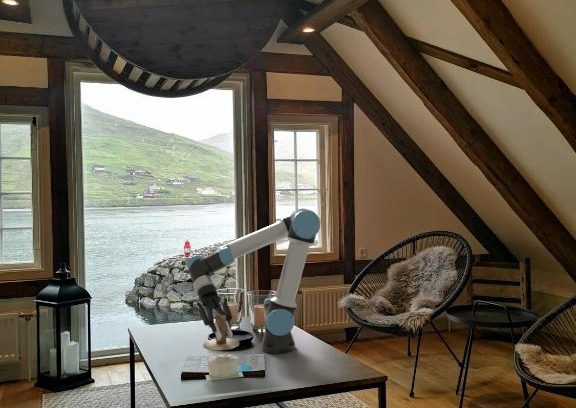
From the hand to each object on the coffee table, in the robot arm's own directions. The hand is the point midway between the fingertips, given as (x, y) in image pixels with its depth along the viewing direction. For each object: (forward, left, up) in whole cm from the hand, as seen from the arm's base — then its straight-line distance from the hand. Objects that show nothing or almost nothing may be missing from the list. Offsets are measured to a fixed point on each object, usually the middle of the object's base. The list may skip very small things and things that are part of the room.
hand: (225, 337), depth 220 cm
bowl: (+1, -3, -15) cm, 15 cm away
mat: (+1, -3, -15) cm, 16 cm away
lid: (+1, -4, -4) cm, 5 cm away
